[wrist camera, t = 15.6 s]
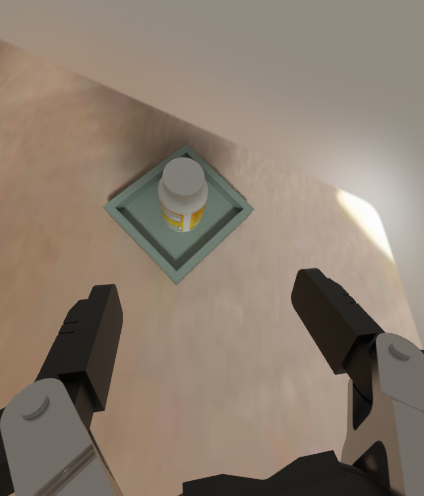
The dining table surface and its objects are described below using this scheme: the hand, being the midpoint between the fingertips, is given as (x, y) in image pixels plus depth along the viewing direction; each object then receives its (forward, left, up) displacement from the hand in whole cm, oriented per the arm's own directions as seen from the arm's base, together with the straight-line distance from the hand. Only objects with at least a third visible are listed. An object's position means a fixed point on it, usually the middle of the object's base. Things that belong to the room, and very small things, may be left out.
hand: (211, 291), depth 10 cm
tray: (+7, +9, -20) cm, 23 cm away
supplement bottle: (+7, +9, -19) cm, 22 cm away
